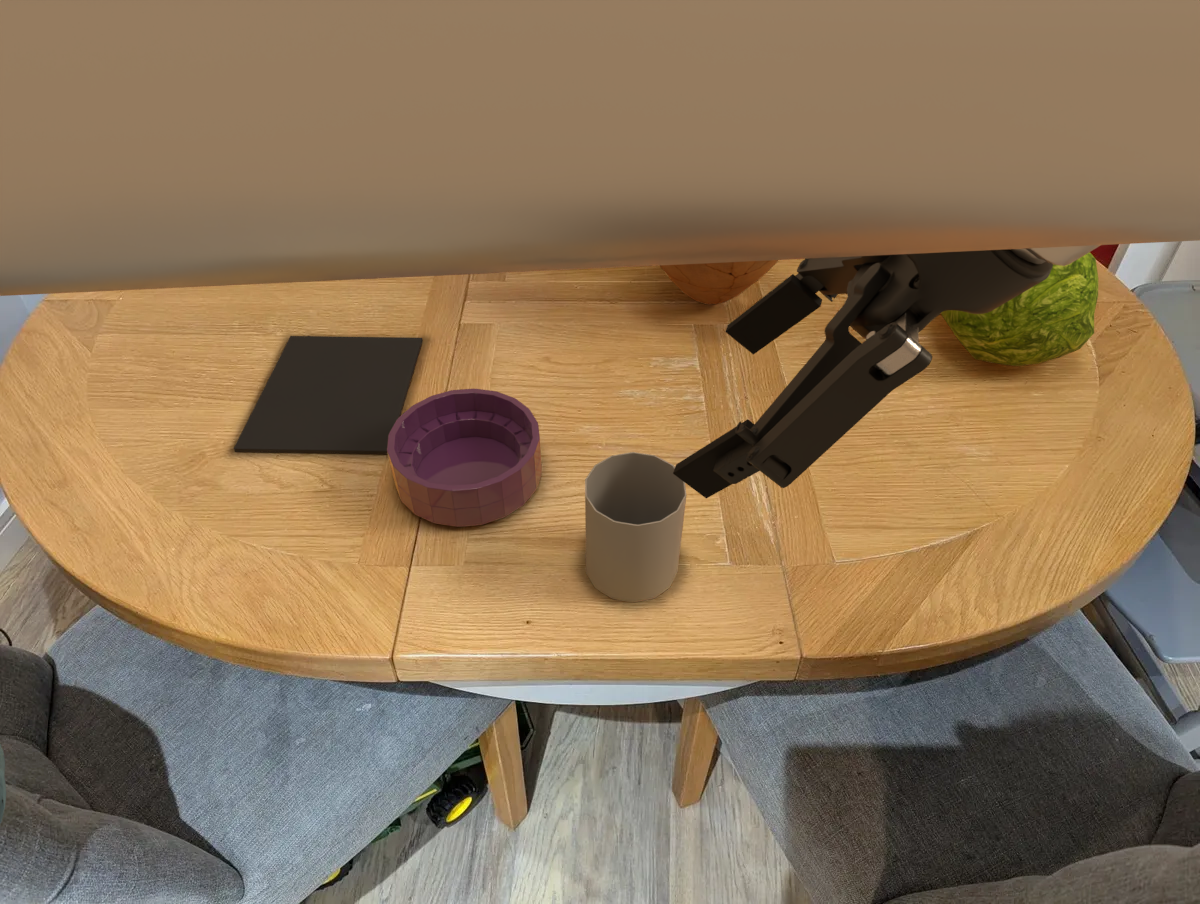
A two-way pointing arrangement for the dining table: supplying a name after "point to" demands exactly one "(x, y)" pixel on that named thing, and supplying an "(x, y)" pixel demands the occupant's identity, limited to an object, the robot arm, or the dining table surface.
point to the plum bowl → (465, 457)
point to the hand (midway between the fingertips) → (717, 405)
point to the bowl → (716, 278)
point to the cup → (633, 526)
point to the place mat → (332, 396)
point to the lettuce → (1034, 319)
